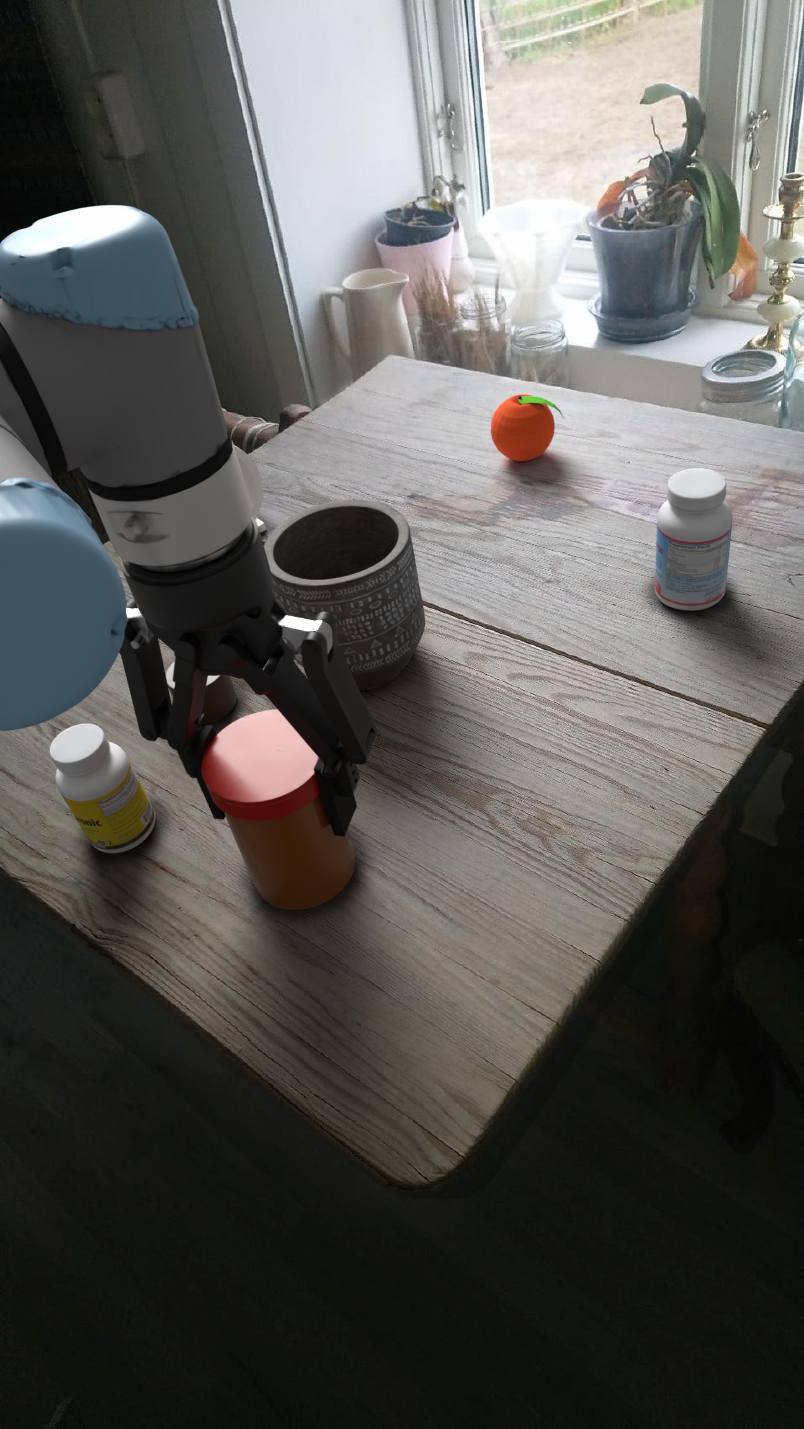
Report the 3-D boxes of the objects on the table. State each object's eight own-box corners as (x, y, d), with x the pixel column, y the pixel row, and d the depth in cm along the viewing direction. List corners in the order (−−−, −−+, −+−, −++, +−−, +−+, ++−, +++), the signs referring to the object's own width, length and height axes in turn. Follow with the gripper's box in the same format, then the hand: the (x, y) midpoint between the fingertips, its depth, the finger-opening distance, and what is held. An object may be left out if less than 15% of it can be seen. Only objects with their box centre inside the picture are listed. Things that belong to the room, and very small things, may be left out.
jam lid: (187, 812, 63) (178, 793, 61) (237, 722, 68) (231, 703, 67) (306, 829, 60) (300, 810, 59) (349, 734, 66) (344, 715, 64)
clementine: (569, 439, 109) (567, 379, 104) (562, 472, 104) (559, 411, 100) (498, 441, 111) (493, 382, 106) (488, 473, 107) (482, 413, 102)
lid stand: (167, 718, 85) (153, 684, 82) (199, 679, 88) (186, 645, 86) (216, 730, 83) (203, 696, 80) (247, 690, 86) (236, 655, 84)
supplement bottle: (77, 831, 77) (26, 745, 70) (135, 791, 79) (91, 704, 73) (111, 868, 74) (61, 781, 67) (170, 825, 76) (127, 737, 69)
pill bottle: (665, 567, 90) (670, 458, 82) (732, 578, 87) (744, 467, 80) (645, 606, 86) (648, 497, 79) (715, 619, 84) (725, 507, 76)
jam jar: (233, 894, 70) (186, 788, 62) (285, 816, 75) (246, 708, 67) (325, 923, 67) (287, 815, 59) (372, 840, 72) (343, 730, 64)
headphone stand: (206, 534, 106) (172, 433, 98) (253, 510, 108) (224, 410, 100) (226, 550, 103) (193, 447, 95) (274, 525, 105) (246, 423, 97)
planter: (351, 603, 93) (324, 486, 84) (457, 638, 87) (439, 516, 78) (268, 680, 87) (230, 562, 78) (376, 724, 81) (348, 601, 72)
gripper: (-19, 567, 52) (126, 835, 68) (349, 588, 46) (416, 878, 61) (54, 490, 57) (173, 756, 73) (395, 500, 51) (446, 789, 66)
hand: (284, 812), depth 67 cm, fingers closed on jam lid, 8 cm apart
